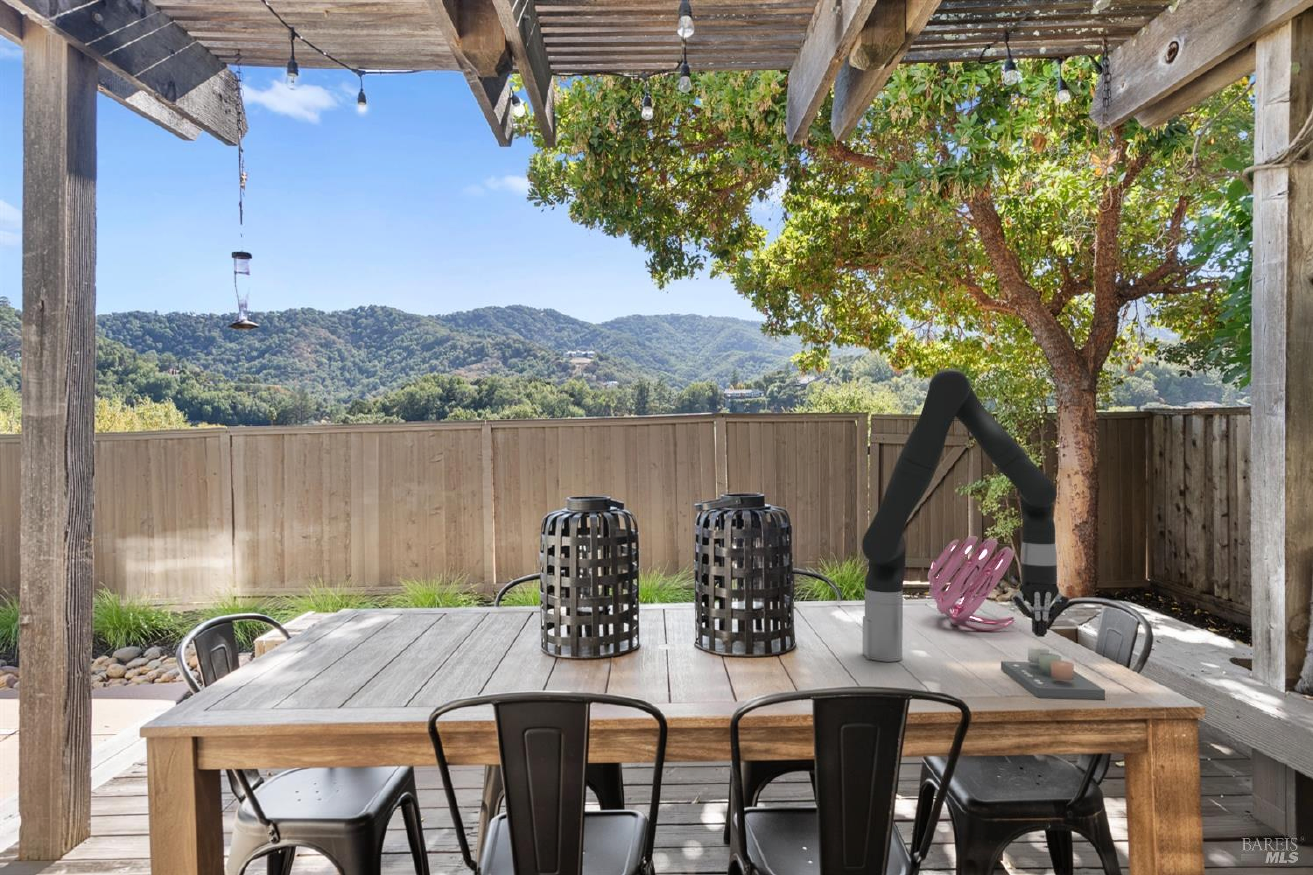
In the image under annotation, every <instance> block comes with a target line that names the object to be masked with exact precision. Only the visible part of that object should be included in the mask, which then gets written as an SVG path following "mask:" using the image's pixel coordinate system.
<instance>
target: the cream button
mask: <svg viewBox="0 0 1313 875" xmlns="http://www.w3.org/2000/svg"><path fill="white" fill-rule="evenodd" d="M1040 653H1050V648H1047V647H1044V646H1039V645H1030V646H1028V647H1027V662H1032V663H1036V664H1039V654H1040Z"/></svg>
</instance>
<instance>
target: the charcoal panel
mask: <svg viewBox="0 0 1313 875" xmlns="http://www.w3.org/2000/svg"><path fill="white" fill-rule="evenodd" d="M1000 670H1001V671H1002V672H1003V673H1005V674H1006V675H1007V676H1008V677H1010V678H1011V679H1013V680H1014V682H1017V683H1018V684H1019V685H1021V687H1023V688H1024V689H1026V690H1027V691H1029V693H1031V694H1032V695H1033V696H1035V697H1036V698H1043V699H1076V700H1077V699H1079V700H1103V701H1105V700H1106V690H1105V689H1104V688H1102V687H1101V686H1099V685H1097V684H1096V683H1094V682H1093V681H1091V680H1089V679H1088V678H1086V677H1085V676H1083V675H1082V674H1080V673H1078V672H1076V671H1075V670H1074V679H1073V680H1059V679H1055V678H1053V677H1051V672H1049V671H1044V670H1041V669H1040V668H1039V664H1036V663H1032V662H1029V661H1009V660H1008V661H1003V660H1001V661H1000Z"/></svg>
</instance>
